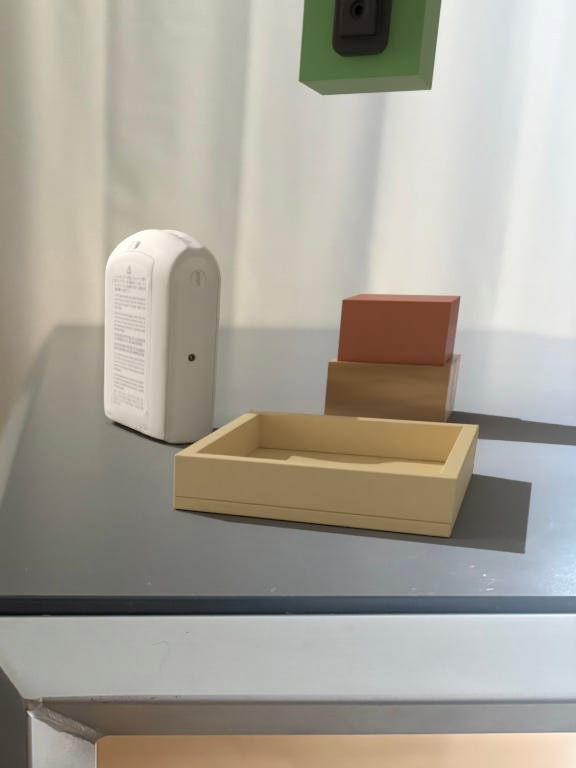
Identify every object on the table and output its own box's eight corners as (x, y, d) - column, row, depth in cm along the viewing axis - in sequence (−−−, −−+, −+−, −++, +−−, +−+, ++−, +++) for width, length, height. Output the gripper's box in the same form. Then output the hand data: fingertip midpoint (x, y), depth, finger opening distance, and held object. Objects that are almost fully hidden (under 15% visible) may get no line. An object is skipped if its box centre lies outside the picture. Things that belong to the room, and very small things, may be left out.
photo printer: (223, 441, 63) (233, 229, 58) (162, 446, 61) (167, 228, 56) (150, 415, 71) (154, 229, 67) (96, 420, 70) (95, 229, 65)
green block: (321, 95, 47) (332, -42, 45) (431, 90, 45) (447, -54, 43) (298, 81, 43) (308, -71, 41) (418, 74, 41) (435, -85, 39)
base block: (344, 403, 76) (349, 349, 75) (453, 409, 73) (461, 354, 72) (323, 420, 69) (328, 361, 68) (442, 428, 67) (450, 366, 65)
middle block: (354, 350, 74) (359, 293, 73) (453, 354, 72) (460, 295, 70) (336, 361, 68) (342, 299, 67) (443, 365, 66) (451, 301, 64)
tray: (248, 454, 59) (250, 409, 58) (472, 472, 54) (479, 424, 53) (172, 508, 47) (174, 454, 46) (449, 538, 43) (457, 478, 42)
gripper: (518, -624, 30) (442, 30, 36) (530, -375, 42) (472, 82, 49) (273, -552, 33) (242, 44, 39) (351, -338, 45) (318, 90, 51)
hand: (370, 62), depth 44 cm, fingers closed on green block, 5 cm apart
